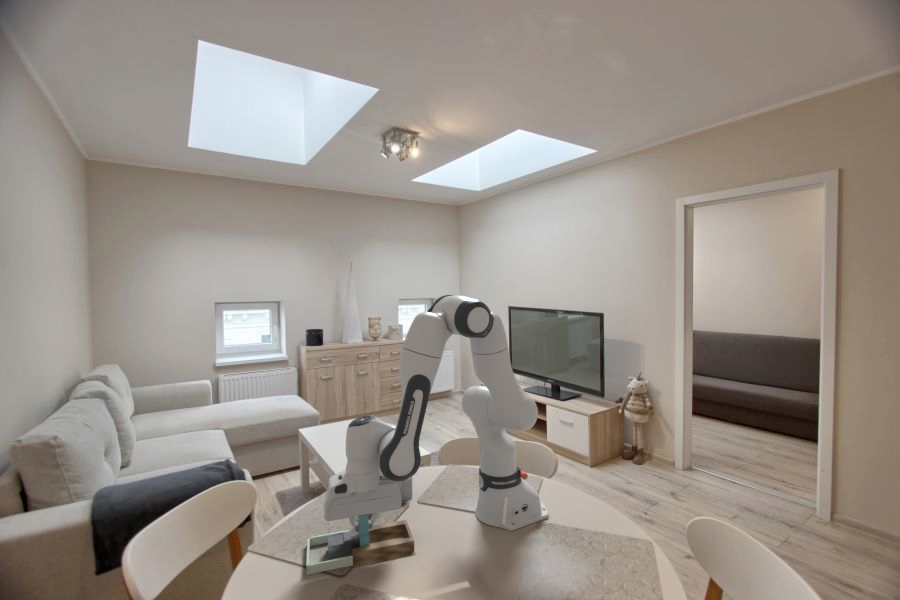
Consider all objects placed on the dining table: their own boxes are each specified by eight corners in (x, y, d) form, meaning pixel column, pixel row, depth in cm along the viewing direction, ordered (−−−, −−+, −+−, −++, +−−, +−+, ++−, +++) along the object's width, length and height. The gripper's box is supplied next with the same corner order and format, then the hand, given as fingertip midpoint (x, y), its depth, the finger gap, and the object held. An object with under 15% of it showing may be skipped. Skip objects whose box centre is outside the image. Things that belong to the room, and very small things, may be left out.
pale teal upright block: (367, 539, 112) (366, 507, 111) (369, 551, 107) (368, 517, 106) (358, 541, 111) (357, 509, 111) (360, 553, 106) (359, 519, 106)
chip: (343, 548, 109) (343, 534, 109) (344, 558, 106) (344, 543, 105) (327, 552, 108) (327, 537, 108) (328, 561, 104) (328, 546, 104)
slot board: (405, 527, 120) (404, 516, 119) (415, 557, 106) (415, 545, 106) (349, 538, 115) (348, 526, 115) (353, 571, 101) (353, 558, 101)
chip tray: (349, 540, 114) (349, 529, 114) (352, 568, 102) (352, 557, 102) (307, 548, 110) (307, 537, 110) (306, 578, 99) (306, 566, 99)
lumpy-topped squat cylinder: (412, 501, 134) (412, 475, 134) (372, 504, 133) (372, 477, 132) (412, 486, 144) (411, 462, 144) (374, 488, 143) (374, 464, 143)
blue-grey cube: (358, 543, 111) (358, 529, 110) (360, 552, 107) (359, 537, 107) (343, 546, 109) (343, 532, 109) (344, 556, 106) (344, 541, 105)
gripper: (399, 467, 114) (399, 516, 115) (323, 478, 108) (323, 529, 109) (403, 477, 108) (404, 528, 109) (323, 489, 102) (324, 543, 103)
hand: (363, 529), depth 109 cm, fingers closed on pale teal upright block, 2 cm apart
